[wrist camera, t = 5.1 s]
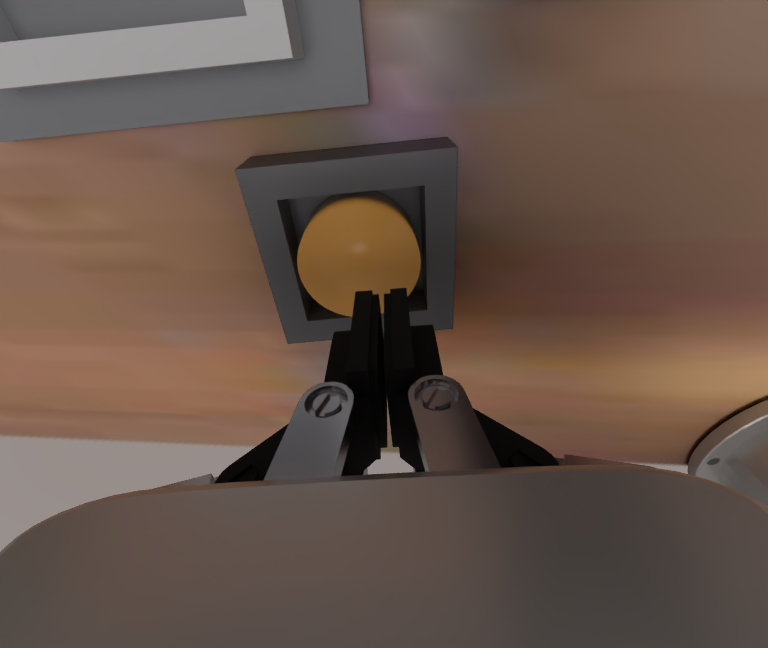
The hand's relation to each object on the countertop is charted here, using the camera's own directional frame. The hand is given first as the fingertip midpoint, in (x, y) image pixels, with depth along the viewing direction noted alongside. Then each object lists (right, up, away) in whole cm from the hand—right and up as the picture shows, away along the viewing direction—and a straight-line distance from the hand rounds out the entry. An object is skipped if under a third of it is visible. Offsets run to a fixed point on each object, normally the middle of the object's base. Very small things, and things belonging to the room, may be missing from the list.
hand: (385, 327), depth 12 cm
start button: (-1, +4, +4) cm, 6 cm away
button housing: (-1, +4, +5) cm, 6 cm away
